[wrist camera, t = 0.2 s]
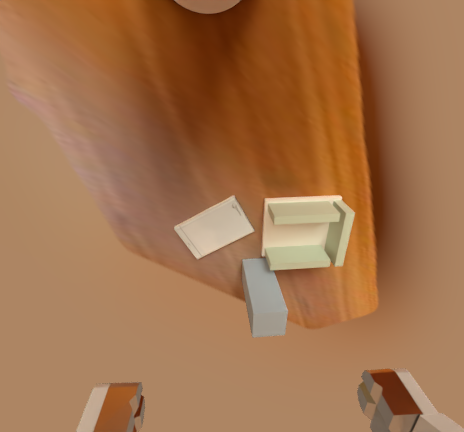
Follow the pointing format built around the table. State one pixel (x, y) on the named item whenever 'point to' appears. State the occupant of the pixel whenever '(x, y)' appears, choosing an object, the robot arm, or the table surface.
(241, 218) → the hard drive
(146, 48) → the table surface
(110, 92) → the table surface
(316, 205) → the cradle
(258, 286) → the block
